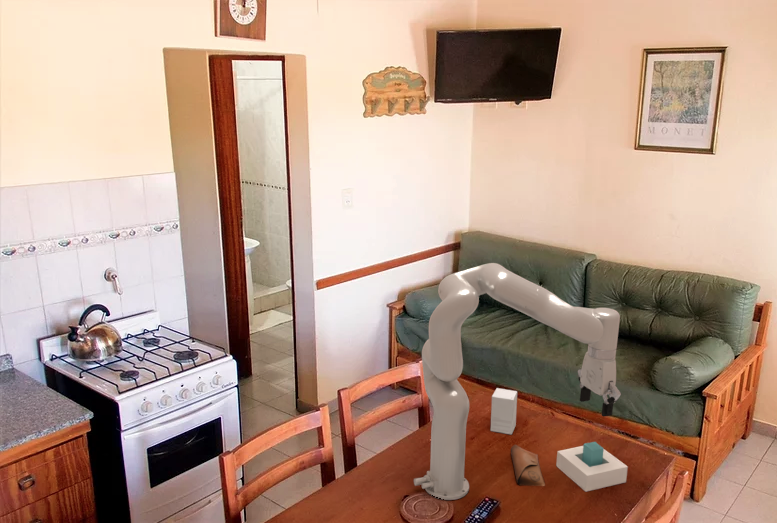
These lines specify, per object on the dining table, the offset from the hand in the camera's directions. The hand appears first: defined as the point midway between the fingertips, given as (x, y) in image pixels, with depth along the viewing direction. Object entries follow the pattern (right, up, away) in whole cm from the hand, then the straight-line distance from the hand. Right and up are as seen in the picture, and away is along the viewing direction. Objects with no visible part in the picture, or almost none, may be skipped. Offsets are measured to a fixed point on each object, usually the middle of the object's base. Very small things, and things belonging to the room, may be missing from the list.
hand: (595, 408), depth 183 cm
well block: (0, -21, +5) cm, 21 cm away
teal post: (0, -21, +5) cm, 21 cm away
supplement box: (-21, -14, +32) cm, 40 cm away
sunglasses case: (-18, -21, +8) cm, 28 cm away
